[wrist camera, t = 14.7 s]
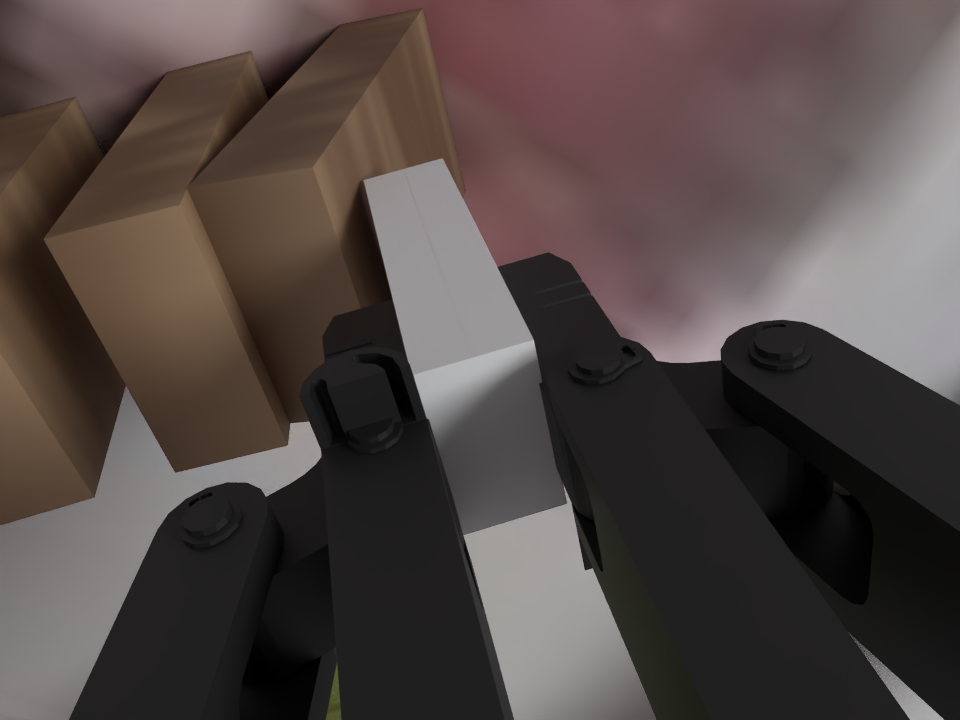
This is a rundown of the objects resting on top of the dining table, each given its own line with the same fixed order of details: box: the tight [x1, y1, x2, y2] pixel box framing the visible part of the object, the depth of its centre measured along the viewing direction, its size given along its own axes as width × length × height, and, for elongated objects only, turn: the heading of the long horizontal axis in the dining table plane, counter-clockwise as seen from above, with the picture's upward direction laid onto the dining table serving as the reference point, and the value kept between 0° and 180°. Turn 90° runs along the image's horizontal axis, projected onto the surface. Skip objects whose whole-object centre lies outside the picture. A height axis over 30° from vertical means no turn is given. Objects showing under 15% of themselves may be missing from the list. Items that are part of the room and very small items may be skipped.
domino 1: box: [0, 97, 126, 525], centre depth 18 cm, size 2×5×10 cm, turn 12°
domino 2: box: [44, 51, 290, 473], centre depth 19 cm, size 2×5×10 cm, turn 12°
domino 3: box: [187, 8, 466, 423], centre depth 19 cm, size 2×5×10 cm, turn 12°
